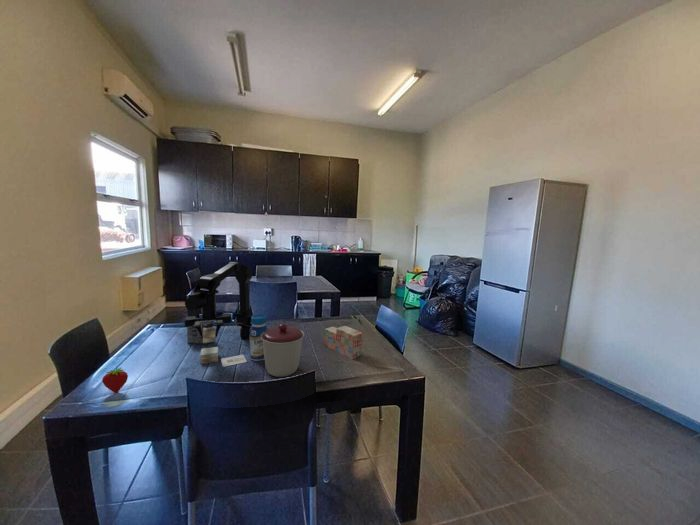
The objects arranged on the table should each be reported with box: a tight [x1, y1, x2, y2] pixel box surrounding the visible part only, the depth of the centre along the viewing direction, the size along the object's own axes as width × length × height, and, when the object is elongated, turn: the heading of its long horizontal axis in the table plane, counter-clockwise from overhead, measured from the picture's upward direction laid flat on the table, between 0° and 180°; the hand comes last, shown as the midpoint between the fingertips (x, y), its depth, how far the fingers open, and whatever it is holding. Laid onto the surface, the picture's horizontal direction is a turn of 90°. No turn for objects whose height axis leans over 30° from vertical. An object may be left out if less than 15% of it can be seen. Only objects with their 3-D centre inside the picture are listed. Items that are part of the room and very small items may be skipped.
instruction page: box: [220, 354, 248, 368], centre depth 132 cm, size 10×8×1 cm
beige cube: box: [203, 326, 217, 343], centre depth 131 cm, size 5×5×5 cm
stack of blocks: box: [323, 325, 363, 360], centre depth 147 cm, size 21×6×12 cm, turn 45°
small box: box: [186, 321, 214, 346], centre depth 149 cm, size 11×6×10 cm, turn 84°
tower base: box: [200, 346, 219, 365], centre depth 132 cm, size 7×7×4 cm
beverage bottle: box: [248, 313, 269, 362], centre depth 135 cm, size 8×8×20 cm
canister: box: [261, 323, 305, 378], centre depth 124 cm, size 18×18×21 cm
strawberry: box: [101, 364, 129, 394], centre depth 104 cm, size 6×8×10 cm
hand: (209, 337), depth 131 cm, fingers closed on beige cube, 5 cm apart
